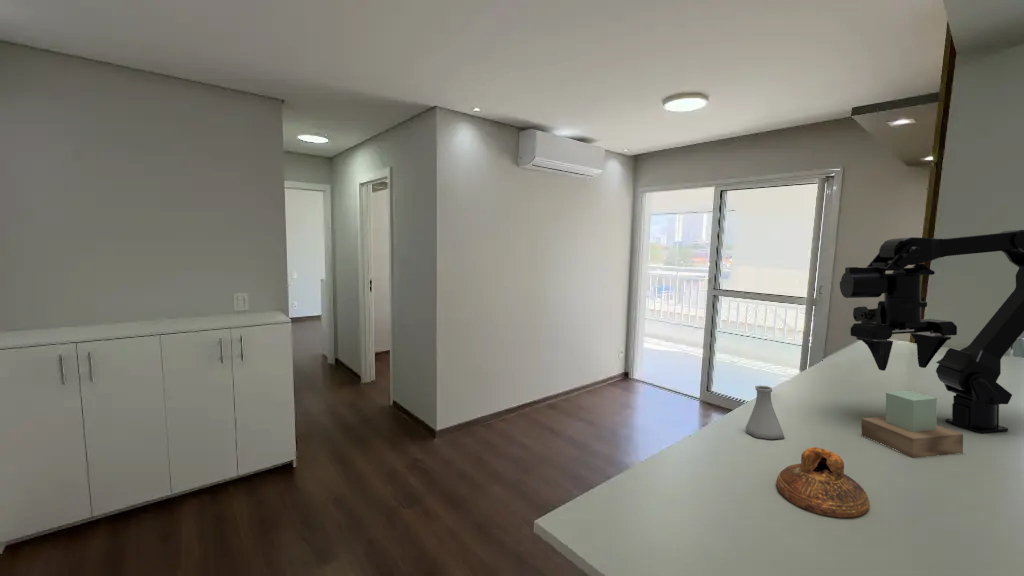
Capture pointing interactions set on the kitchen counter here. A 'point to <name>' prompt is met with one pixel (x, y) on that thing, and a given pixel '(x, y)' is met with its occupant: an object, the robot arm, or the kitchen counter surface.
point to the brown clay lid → (822, 485)
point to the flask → (764, 416)
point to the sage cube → (911, 410)
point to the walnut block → (913, 438)
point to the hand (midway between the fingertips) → (902, 368)
